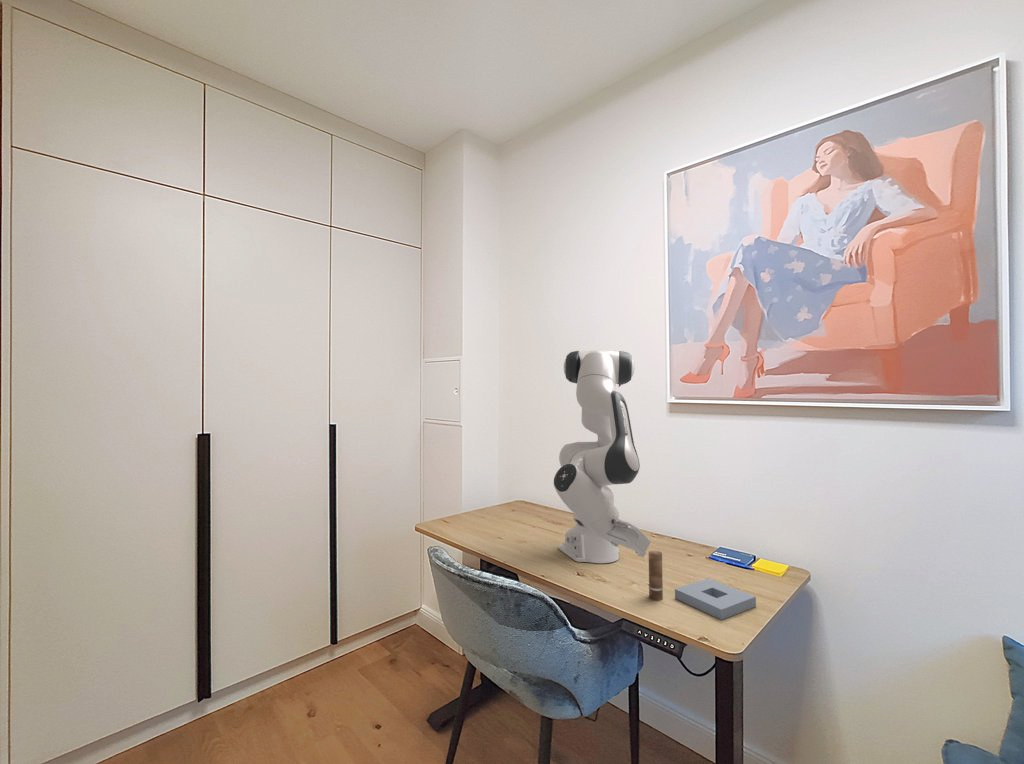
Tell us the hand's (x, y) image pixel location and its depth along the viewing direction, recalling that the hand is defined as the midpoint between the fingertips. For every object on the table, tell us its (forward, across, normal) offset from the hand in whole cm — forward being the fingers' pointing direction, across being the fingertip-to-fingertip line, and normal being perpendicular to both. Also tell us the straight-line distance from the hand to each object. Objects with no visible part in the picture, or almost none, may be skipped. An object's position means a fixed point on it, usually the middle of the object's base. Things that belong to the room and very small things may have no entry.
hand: (629, 549), depth 121 cm
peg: (+17, 0, +4) cm, 17 cm away
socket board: (+25, -10, -4) cm, 27 cm away
